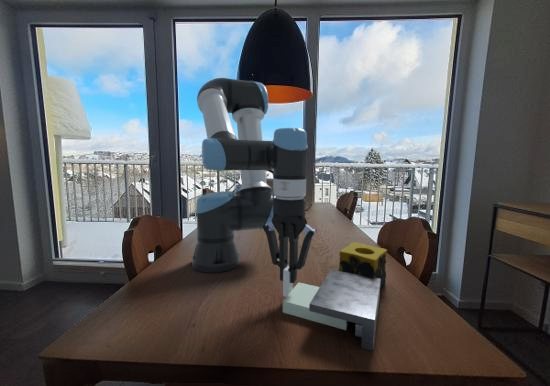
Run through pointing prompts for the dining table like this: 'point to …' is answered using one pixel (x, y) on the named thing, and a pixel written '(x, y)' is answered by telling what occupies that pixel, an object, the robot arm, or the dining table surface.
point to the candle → (364, 261)
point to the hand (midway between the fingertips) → (288, 294)
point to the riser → (350, 302)
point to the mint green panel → (300, 302)
